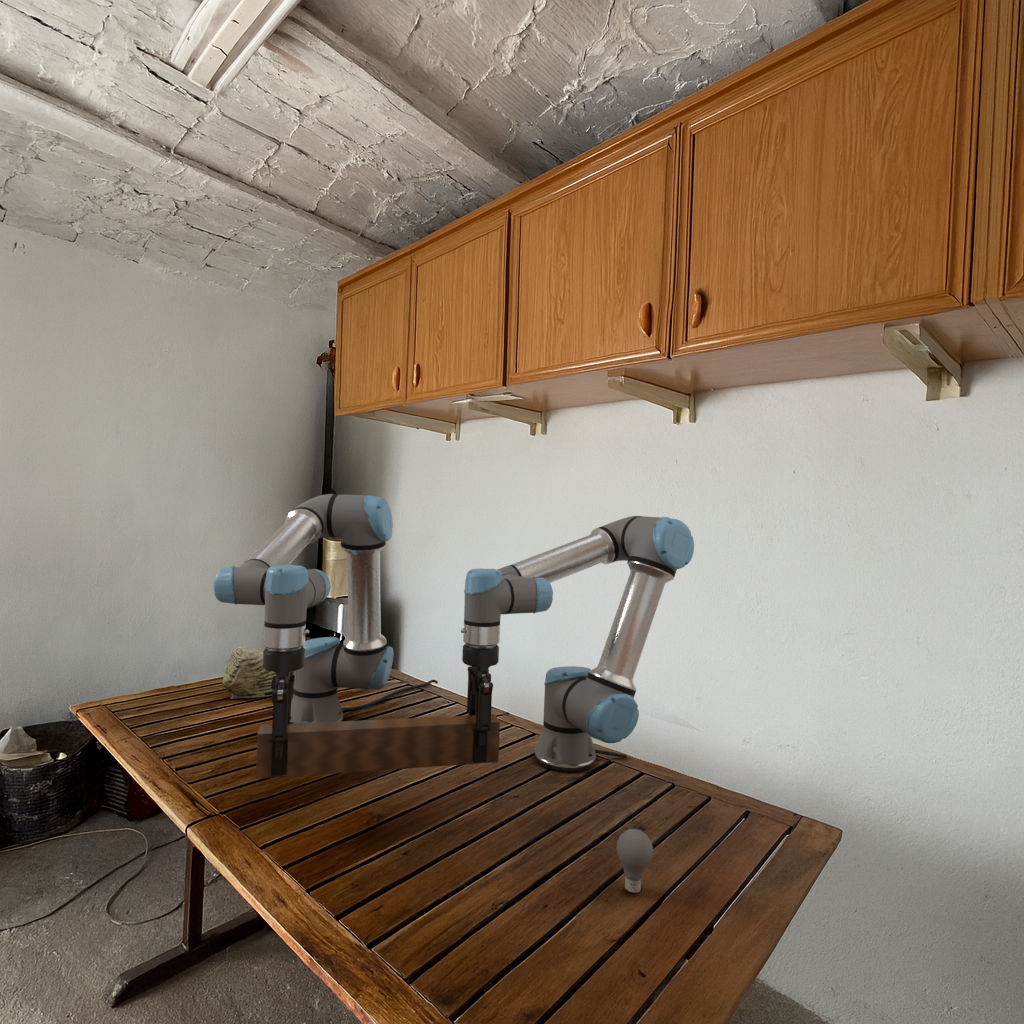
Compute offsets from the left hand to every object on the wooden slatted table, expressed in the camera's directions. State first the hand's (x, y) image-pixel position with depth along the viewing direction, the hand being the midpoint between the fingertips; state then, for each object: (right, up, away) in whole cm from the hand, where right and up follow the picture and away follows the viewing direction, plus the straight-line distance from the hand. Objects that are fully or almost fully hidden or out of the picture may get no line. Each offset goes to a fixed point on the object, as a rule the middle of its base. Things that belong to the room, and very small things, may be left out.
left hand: (280, 768), depth 121 cm
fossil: (-36, -8, +77) cm, 86 cm away
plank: (+18, -1, +5) cm, 19 cm away
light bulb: (+64, -14, -15) cm, 68 cm away
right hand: (+37, -2, +10) cm, 38 cm away
